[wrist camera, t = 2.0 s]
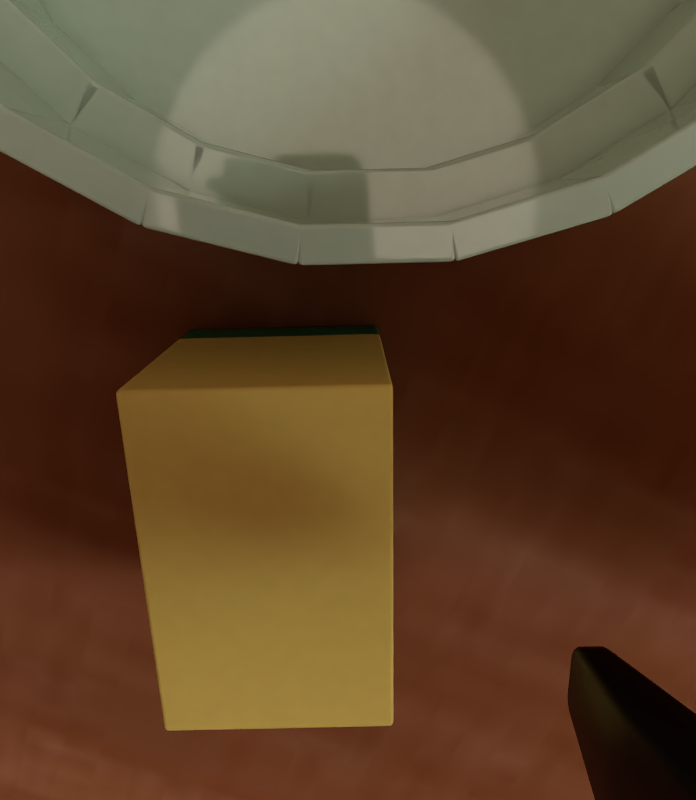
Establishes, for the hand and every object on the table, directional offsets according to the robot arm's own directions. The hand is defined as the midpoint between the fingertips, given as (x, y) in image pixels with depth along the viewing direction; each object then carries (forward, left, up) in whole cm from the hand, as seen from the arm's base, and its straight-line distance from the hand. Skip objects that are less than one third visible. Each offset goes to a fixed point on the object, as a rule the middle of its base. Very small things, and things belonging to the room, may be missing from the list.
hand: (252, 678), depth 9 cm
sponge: (0, 0, -8) cm, 8 cm away
